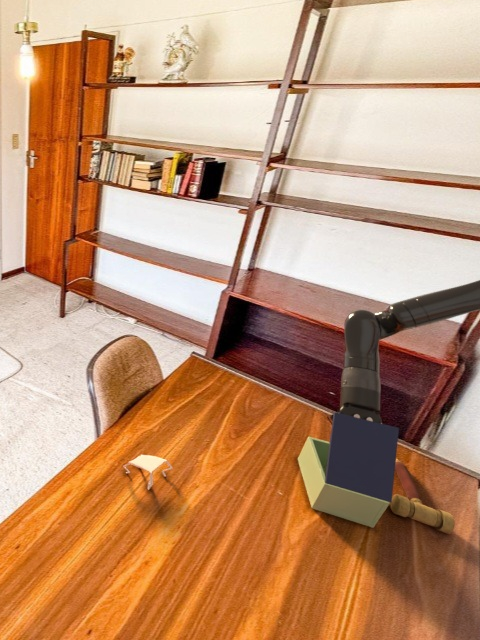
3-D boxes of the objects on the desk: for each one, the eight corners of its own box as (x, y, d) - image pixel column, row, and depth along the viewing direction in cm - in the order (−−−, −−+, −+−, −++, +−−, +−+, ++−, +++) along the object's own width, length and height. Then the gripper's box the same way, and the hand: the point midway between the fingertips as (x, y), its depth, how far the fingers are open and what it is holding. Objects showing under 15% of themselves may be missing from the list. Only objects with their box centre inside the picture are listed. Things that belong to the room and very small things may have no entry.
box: (297, 459, 110) (308, 436, 106) (350, 474, 106) (364, 451, 102) (311, 508, 97) (324, 484, 93) (373, 528, 93) (389, 503, 89)
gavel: (377, 446, 111) (423, 461, 107) (371, 458, 113) (416, 473, 108) (401, 504, 93) (458, 524, 89) (393, 517, 95) (448, 538, 91)
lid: (333, 411, 96) (335, 412, 95) (397, 427, 92) (399, 428, 91) (324, 482, 93) (326, 483, 92) (389, 501, 89) (391, 502, 88)
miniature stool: (139, 496, 98) (142, 483, 96) (120, 469, 105) (123, 456, 103) (177, 482, 102) (181, 469, 100) (157, 457, 109) (160, 444, 107)
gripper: (383, 397, 99) (382, 470, 94) (322, 383, 103) (317, 452, 99) (402, 395, 93) (401, 473, 88) (336, 380, 97) (331, 453, 92)
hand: (357, 461), depth 93 cm, fingers closed
